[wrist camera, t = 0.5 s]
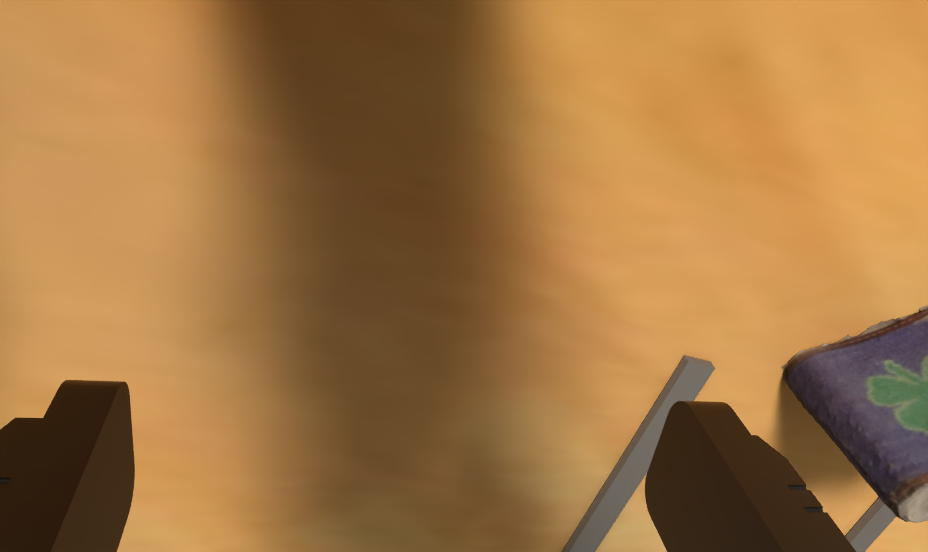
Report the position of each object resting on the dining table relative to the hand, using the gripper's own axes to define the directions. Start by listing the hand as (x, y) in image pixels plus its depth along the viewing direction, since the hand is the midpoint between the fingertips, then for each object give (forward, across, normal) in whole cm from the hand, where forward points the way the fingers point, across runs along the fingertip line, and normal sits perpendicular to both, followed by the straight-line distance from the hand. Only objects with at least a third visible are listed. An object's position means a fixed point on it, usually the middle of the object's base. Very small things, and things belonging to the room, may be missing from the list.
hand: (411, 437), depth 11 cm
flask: (+19, -26, +10) cm, 33 cm away
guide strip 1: (+19, -15, +19) cm, 30 cm away
